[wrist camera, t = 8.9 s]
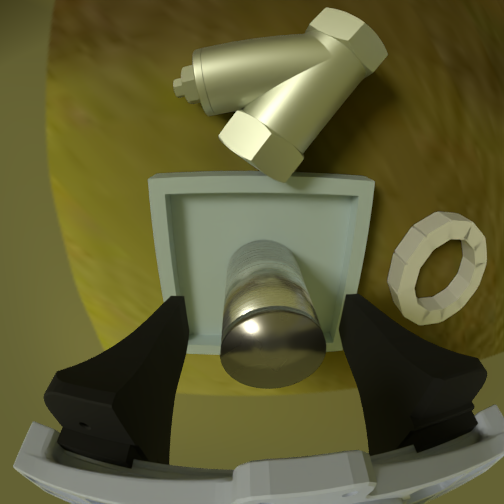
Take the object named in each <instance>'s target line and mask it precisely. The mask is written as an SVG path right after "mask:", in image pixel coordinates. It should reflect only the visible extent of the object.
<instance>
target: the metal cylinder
mask: <svg viewBox="0 0 504 504" xmlns="http://www.w3.org/2000/svg"><path fill="white" fill-rule="evenodd" d="M325 354H326V340H325V337H324V334H323V332H322V329H321V326H320V323H319V320H318V317H317V315H316V312H315V309H314V306H313V304H312V301H311V298H310V295H309V293H308V290H307V287H306V285H305V282H304V279H303V276H302V274H301V271H300V268H299V266H298V263H297V261H296V258H295V256H294V255H293V253H292V252H291V251H290V250H289V249H288V248H287V247H286V246H284V245H283V244H281V243H278V242H276V241H272V240H255V241H252V242H249V243H247V244H245V245H243V246H241V247H240V248H239V249H237V250H236V251H235V252H234V254H233V255H232V256H231V258H230V260H229V263H228V266H227V274H226V286H225V298H224V310H223V323H222V336H221V350H220V359H221V363H222V365H223V367H224V369H225V371H226V372H227V373H228V374H229V375H230V376H231V377H232V378H234V379H235V380H237V381H238V382H240V383H242V384H245V385H248V386H251V387H256V388H266V389H271V388H281V387H285V386H289V385H292V384H295V383H297V382H300V381H302V380H303V379H305V378H307V377H308V376H310V375H311V374H312V373H313V372H314V371H315V370H316V369H317V368H318V367H319V366H320V364H321V363H322V361H323V359H324V357H325Z"/></svg>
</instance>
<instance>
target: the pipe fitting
mask: <svg viewBox="0 0 504 504" xmlns="http://www.w3.org/2000/svg"><path fill="white" fill-rule="evenodd" d="M387 55H388V54H387V51H386V49H385V47H384V45H383V43H382V41H381V40H380V38H379V37H378V36H377V34H376V33H375V32H374V31H373V30H372V29H371V28H370V27H369V26H368V25H367V24H366V23H364V22H363V21H361V20H360V19H358V18H357V17H355V16H353V15H351V14H349V13H346V12H344V11H340V10H337V9H332V8H325V9H324V10H323V11H322V12H321V13H320V14H319V15H318V16H317V17H316V18H315V19H314V20H313V21H312V22H311V23H310V24H309V26H308V28H307V30H306V32H305V34H294V35H282V36H272V37H264V38H256V39H249V40H242V41H236V42H230V43H225V44H220V45H215V46H210V47H205V48H201V49H197V50H195V51H194V52H193V58H192V64H193V65H191V66H187V67H183V69H182V72H181V78H179V79H175V80H174V82H173V87H174V92H175V94H176V96H177V97H178V98H181V97H186V99H187V101H188V102H189V103H190V104H196V103H200V102H201V105H202V108H203V110H204V112H205V113H206V114H207V115H208V116H213V115H218V114H223V113H228V112H234V111H236V113H235V114H234V115H233V117H232V118H231V119H230V121H229V122H228V123H227V125H226V126H225V127H224V129H223V130H222V132H221V133H220V134H219V139H220V141H221V142H222V143H223V144H224V145H226V146H227V147H228V148H229V149H230V150H232V151H233V152H234V153H236V154H237V155H238V156H240V157H241V158H242V159H244V160H245V161H247V162H248V163H249V164H251V165H252V166H254V167H255V168H257V169H258V170H259V171H261V172H262V173H264V174H266V175H267V176H269V177H270V178H272V179H274V180H275V181H277V182H279V183H285V182H286V181H287V180H288V179H289V177H290V176H291V175H292V173H293V172H294V171H295V170H296V168H297V167H298V166H299V165H300V163H301V162H302V161H303V159H304V154H303V153H304V152H305V151H306V149H307V148H308V147H309V145H310V144H311V143H312V142H313V140H314V139H315V138H316V137H317V135H318V134H319V133H320V132H321V130H322V129H323V128H324V127H325V125H326V124H327V123H328V122H329V120H330V119H331V118H332V117H333V115H334V114H335V113H336V112H337V110H338V109H339V108H340V107H341V105H342V104H343V103H344V102H345V100H346V99H347V98H348V97H349V96H350V94H351V93H352V92H353V91H354V89H355V88H356V87H357V86H358V84H359V83H360V82H361V81H362V80H363V79H364V78H366V77H367V76H369V75H370V74H372V73H373V72H374V71H375V70H376V68H377V67H378V66H379V65H380V64H381V62H382V61H383V60H384V59H385V58H386V56H387Z"/></svg>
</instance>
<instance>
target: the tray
mask: <svg viewBox="0 0 504 504" xmlns="http://www.w3.org/2000/svg"><path fill="white" fill-rule="evenodd" d="M148 186H149V197H150V208H151V217H152V226H153V235H154V242H155V250H156V257H157V264H158V271H159V277H160V283H161V289H162V295H163V301H164V302H165V301H166V300H167V299H168V298H169V297H170V296H184V298H185V305H186V312H187V319H188V325H189V331H190V332H189V340H188V347H187V352H186V353H189V354H217V355H220V350H221V336H222V323H223V310H224V298H225V286H226V274H227V266H228V263H229V260H230V258H231V256H232V255H233V254H234V252H235V251H236V250H237V249H239V248H240V247H241V246H243V245H245V244H247V243H249V242H252V241H255V240H272V241H276V242H278V243H281V244H283V245H284V246H286V247H287V248H288V249H289V250H290V251H291V252H292V253H293V255H294V256H295V258H296V261H297V263H298V266H299V268H300V271H301V274H302V276H303V279H304V282H305V285H306V287H307V290H308V293H309V295H310V298H311V301H312V304H313V306H314V309H315V312H316V315H317V317H318V320H319V323H320V326H321V329H322V332H323V334H324V337H325V340H326V352H330V351H342V350H343V347H342V343H341V338H340V334H339V325H340V320H341V316H342V311H343V306H344V301H345V296H346V294H357V290H358V285H359V280H360V275H361V270H362V265H363V260H364V254H365V249H366V243H367V237H368V230H369V224H370V217H371V210H372V202H373V194H374V186H375V181H373V180H371V179H369V178H367V177H365V176H357V175H344V174H329V173H310V172H293V173H292V175H291V176H290V177H289V179H288V180H287V181H286V182H285V183H279V182H277V181H275V180H274V179H272V178H270V177H269V176H267V175H266V174H264V173H262V172H261V171H207V172H179V173H160V174H155V175H153V176H152V177H150V178H149V179H148Z"/></svg>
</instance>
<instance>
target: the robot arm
mask: <svg viewBox="0 0 504 504" xmlns="http://www.w3.org/2000/svg"><path fill="white" fill-rule="evenodd" d="M189 332H190V331H189V325H188V319H187V312H186V305H185V298H184V296H170V297H169V298H168V299H167V300H166V301H165V302H164V303H163V304H162V305H161V306H160V307H159V308H158V309H157V310H156V311H155V312H154V313H153V314H152V315H151V316H150V317H149V318H148V319H147V320H146V321H145V322H144V323H143V324H142V325H140V326H139V327H138V328H137V329H136V330H135V331H134V332H132V333H131V334H130V335H129V336H127V337H126V338H125V339H123V340H122V341H120V342H119V343H117V344H116V345H114V346H113V347H111V348H109V349H108V350H106V351H104V352H103V353H101V354H99V355H97V356H96V357H93V358H91V359H89V360H87V361H85V362H82V363H80V364H78V365H75V366H72V367H69V368H66V369H63V370H60V371H57V373H56V374H55V376H54V377H53V379H52V381H51V383H50V385H49V387H48V388H47V390H46V392H45V394H44V401H45V404H46V406H47V407H48V409H49V410H50V412H51V413H52V414H53V416H54V417H55V418H56V419H57V421H58V422H59V423H60V424H61V426H63V428H62V430H61V433H59V432H58V431H56V430H55V429H52V428H50V427H47V426H44V425H42V424H39V423H37V422H32V425H31V427H30V429H29V431H28V433H27V435H26V438H25V439H24V442H23V444H22V446H21V449H20V451H19V453H18V456H17V458H16V460H15V463H14V466H13V467H14V469H16V470H17V471H18V472H19V473H21V474H22V475H23V476H25V477H26V478H27V479H29V480H30V481H31V482H33V483H34V484H35V485H37V486H38V487H40V488H41V489H42V490H44V491H45V492H47V493H49V494H51V495H53V496H56V497H58V498H60V499H62V500H65V501H67V502H69V503H71V504H425V503H427V502H429V501H431V500H433V499H435V498H438V497H440V496H441V495H444V494H446V493H448V492H450V491H451V490H453V489H455V488H457V487H459V486H461V485H463V484H465V483H466V482H468V481H470V480H472V479H473V478H475V477H477V476H479V475H480V474H482V473H484V472H485V471H487V470H488V469H489V468H490V467H491V466H493V465H494V464H495V463H496V462H498V461H499V460H500V459H501V458H502V457H503V456H504V417H503V416H502V414H501V412H500V410H499V409H498V407H497V405H492V406H490V407H488V408H486V409H484V410H482V411H480V412H478V413H477V414H476V415H475V416H474V414H473V413H472V410H473V409H474V405H473V403H472V400H473V399H474V397H475V396H476V395H477V393H478V392H479V390H480V389H481V388H482V386H483V384H484V383H485V380H486V377H487V371H486V370H485V368H484V367H483V365H482V364H481V362H480V361H479V359H478V358H475V357H471V356H467V355H463V354H459V353H456V352H453V351H450V350H447V349H444V348H442V347H439V346H437V345H435V344H433V343H430V342H428V341H426V340H424V339H422V338H420V337H419V336H417V335H415V334H413V333H412V332H410V331H408V330H407V329H405V328H404V327H402V326H401V325H399V324H398V323H396V322H395V321H393V320H392V319H391V318H389V317H388V316H387V315H385V314H384V313H383V312H382V311H380V310H379V309H378V308H376V307H375V306H374V305H373V304H371V303H370V302H369V301H368V300H366V299H365V298H364V297H362V296H361V295H359V294H346V296H345V301H344V306H343V311H342V316H341V320H340V325H339V334H340V338H341V343H342V347H343V350H344V352H345V355H346V358H347V360H348V363H349V365H350V368H351V371H352V373H353V376H354V379H355V381H356V384H357V387H358V390H359V394H360V398H361V403H362V407H363V412H364V418H365V424H366V430H367V438H368V447H369V453H366V452H363V451H360V450H351V451H342V452H336V453H328V454H321V455H313V456H303V457H292V458H278V459H264V460H255V461H250V462H247V463H244V464H241V465H239V466H238V467H236V469H235V470H221V469H220V470H219V469H203V468H191V467H182V466H173V465H169V451H170V435H171V425H172V415H173V407H174V400H175V394H176V389H177V386H178V382H179V378H180V374H181V371H182V367H183V363H184V360H185V356H186V352H187V347H188V340H189Z"/></svg>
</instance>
